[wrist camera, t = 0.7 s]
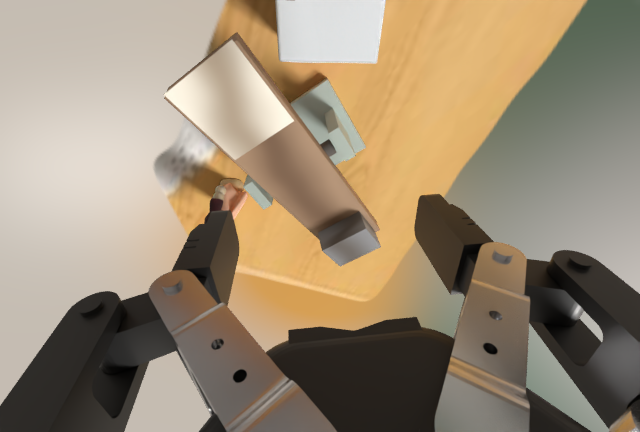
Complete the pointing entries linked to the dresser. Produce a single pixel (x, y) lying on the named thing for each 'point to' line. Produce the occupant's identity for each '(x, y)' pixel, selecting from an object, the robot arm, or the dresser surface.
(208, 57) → the beam
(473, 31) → the dresser surface
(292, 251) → the dresser surface
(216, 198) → the grandmother figurine
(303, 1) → the skincare box
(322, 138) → the beam stand
